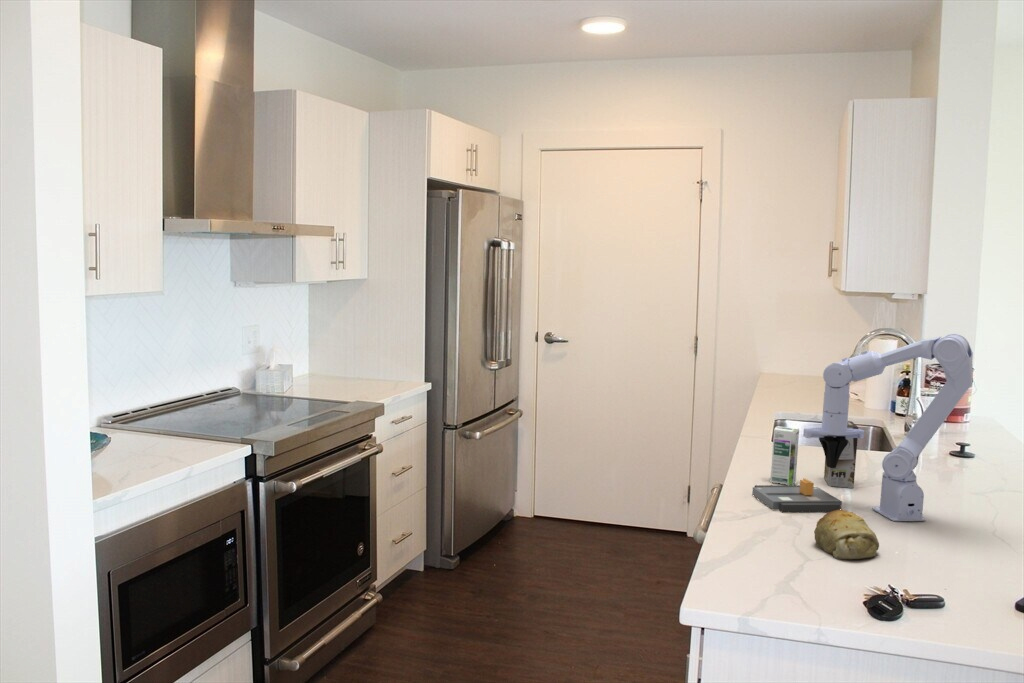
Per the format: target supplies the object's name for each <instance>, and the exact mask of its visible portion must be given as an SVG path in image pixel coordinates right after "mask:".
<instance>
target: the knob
mask: <svg viewBox="0 0 1024 683" xmlns="http://www.w3.org/2000/svg"><path fill="white" fill-rule="evenodd" d="M814 484H815V483H814V481H813V482H812V481H811V480H809V479H807V478H806V477H803V478H802V479H799V485H800V489H799V492H801V493H802V494H804V495H813V487H815V485H814Z"/></svg>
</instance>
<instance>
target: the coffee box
mask: <svg viewBox="0 0 1024 683" xmlns="http://www.w3.org/2000/svg"><path fill="white" fill-rule="evenodd" d="M847 428H848V429H860V427H859V426H857V424H855V423H854V422H853V421H850V420H848V421H847ZM858 439H859V438H846V440H848V444H847V446H846V447H845V448H844V450H843V451H842V453H841V455H840V457H839V460H838V462H837V465H836V468H830V467H828V466H827V464H826V458H825V457H824V458H825V459H824V472H823V479H824V480H825V481H826V483H827V484H828V486H829V487H837V488H838V487H839V488H846V487H848V489H854V486H855V475H856V464H857V463H856V462H857V449H858Z"/></svg>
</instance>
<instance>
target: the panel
mask: <svg viewBox="0 0 1024 683" xmlns="http://www.w3.org/2000/svg"><path fill="white" fill-rule="evenodd" d="M799 489H800V487H755V486H753V487H752V494H751V495H752V496H753V495H754V496H755V497H756V498H755V497H754V496H753V497H754V498H755V499H757V498H758V499H759V500H758V499H757V500H758V501H760V502H761V501H762V502H763V503H762V502H761V503H762V504H764V505H765V504H766V505H765V506H766V507H768V506H769V507H770V508H769V507H768V508H769V509H771V510H772V509H773V510H772V511H780V510H779V508H780V503H838V504H840V509H841V510H842V504H843V503H842V502H843V501H842V500H840V499H839V498H837V497H835V496H833V495H832V494H830V493H828V492H827V491H825V490H823V489H821V488H820V487H818V486H816V487H815V486H813V495H804V494H802V493H801V492H799Z"/></svg>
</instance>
